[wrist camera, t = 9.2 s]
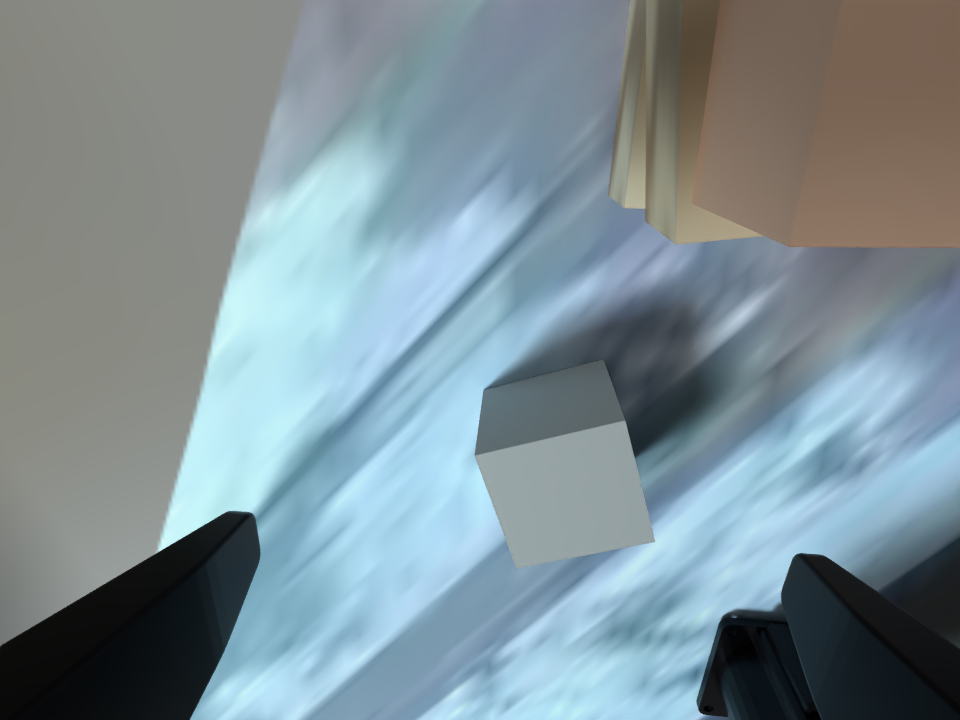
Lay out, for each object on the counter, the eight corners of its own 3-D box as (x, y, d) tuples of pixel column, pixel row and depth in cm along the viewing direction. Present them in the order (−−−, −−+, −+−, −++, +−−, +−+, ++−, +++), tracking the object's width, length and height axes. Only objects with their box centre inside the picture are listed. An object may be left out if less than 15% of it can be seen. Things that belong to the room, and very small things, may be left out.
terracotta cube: (995, -65, 10) (1367, -215, 6) (914, 204, 12) (1147, 248, 8) (727, -57, 11) (884, -194, 6) (691, 204, 13) (788, 247, 8)
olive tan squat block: (808, 201, 19) (866, 216, 16) (607, 194, 19) (624, 208, 16) (869, -40, 16) (955, -82, 13) (633, -43, 17) (661, -83, 13)
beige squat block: (894, 195, 16) (991, 213, 12) (645, 221, 16) (675, 244, 13) (948, -109, 13) (1090, -187, 10) (646, -62, 14) (685, -120, 10)
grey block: (628, 460, 24) (655, 541, 19) (517, 485, 24) (516, 568, 20) (603, 358, 22) (625, 420, 17) (483, 388, 23) (474, 455, 18)
